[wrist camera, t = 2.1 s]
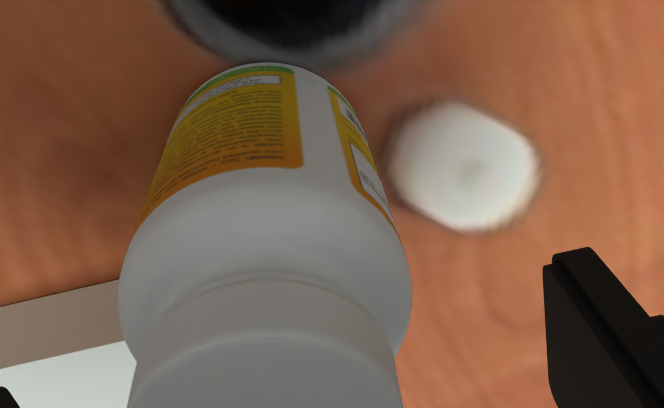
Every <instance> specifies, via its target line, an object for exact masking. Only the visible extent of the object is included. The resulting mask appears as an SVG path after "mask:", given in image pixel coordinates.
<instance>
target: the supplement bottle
mask: <svg viewBox="0 0 664 408" xmlns="http://www.w3.org/2000/svg"><path fill="white" fill-rule="evenodd" d="M411 306H412V285H411V276H410V272H409V268H408V264H407V259H406V255H405V252H404V248H403V245H402V243H401V240H400V237H399V234H398V232H397V229H396V226H395V223H394V220H393V217H392V214H391V211H390V208H389V205H388V202H387V199H386V196H385V193H384V189H383V186H382V184H381V181H380V178H379V175H378V172H377V169H376V167H375V164H374V161H373V158H372V154H371V152H370V149H369V146H368V143H367V140H366V137H365V134H364V131H363V129H362V126H361V124H360V122H359V120H358V118H357V116H356V114H355V112H354V110H353V108H352V107H351V105H350V104H349V102H348V101H347V100H346V99H345V97H344V96H343V95H342V94H341V93H340V92H339V91H338V90H337V89H336V88H335V87H334V86H333V85H331V84H330V83H329V82H327V81H326V80H325V79H323V78H321V77H320V76H318V75H316V74H314V73H312V72H310V71H308V70H306V69H303V68H300V67H296V66H293V65H288V64H282V63H272V62H267V63H252V64H246V65H241V66H237V67H234V68H231V69H228V70H226V71H223V72H221V73H219V74H218V75H216V76H214V77H212V78H211V79H209V80H208V81H206V82H205V83H204V84H203V85H201V86H200V87H199V88H198V89H197V90H196V91H195V92H194V93H193V94H192V95H191V96H190V98H189V99H188V100H187V102H186V103H185V104H184V106H183V107H182V109H181V111H180V113H179V115H178V117H177V118H176V120H175V122H174V124H173V127H172V130H171V132H170V135H169V137H168V140H167V143H166V146H165V149H164V152H163V154H162V157H161V160H160V162H159V165H158V168H157V170H156V173H155V176H154V178H153V181H152V183H151V186H150V188H149V191H148V193H147V197H146V199H145V201H144V204H143V206H142V209H141V212H140V215H139V218H138V221H137V223H136V226H135V229H134V232H133V234H132V237H131V240H130V243H129V246H128V249H127V252H126V255H125V258H124V262H123V266H122V270H121V274H120V278H119V285H118V312H119V319H120V324H121V329H122V333H123V336H124V339H125V342H126V344H127V346H128V348H129V350H130V352H131V354H132V355H133V357H134V359H135V360H136V362H137V364H136V368H135V372H134V376H133V381H132V385H131V390H130V394H129V399H128V403H127V408H403V403H402V398H401V393H400V388H399V383H398V378H397V373H396V367H395V359H394V357H395V356H396V354H397V352H398V350H399V348H400V346H401V344H402V342H403V339H404V337H405V334H406V331H407V328H408V324H409V319H410V313H411Z"/></svg>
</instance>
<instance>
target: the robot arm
mask: <svg viewBox="0 0 664 408" xmlns="http://www.w3.org/2000/svg"><path fill="white" fill-rule="evenodd" d="M543 290H544V307H545V325H546V342H547V359H548V377H549V384H550V389H551V392H552V395H553V398H554V400H555V402H556V404H557V406H558V408H664V316H663V315H657V316H653V317H649V315H648V314H647V313H646V312H645V311H644V309H643V308H642V307H641V306H640V305H639V304H638V302H637V301H636V300H635V299H634V298H633V296H632V295H631V294H630V293H629V292H628V291H627V289H626V288H625V287H624V286H623V285H622V283H621V282H620V281H619V280H618V279H617V278H616V276H615V275H614V274H613V273H612V272H611V270H610V269H609V268H608V267H607V266H606V265H605V263H604V262H603V261H602V260H601V259H600V257H599V256H598V255H597V254H596V253H595V252H594V251H593V250H592V249H591V248H589V247H584V248H580V249H575V250H571V251H566V252H562V253H557V254H555V255H553V258H552V264H549V265H545V266H543ZM0 408H20V406H19V405H18V403H17V402H16V400H15V399H14V398H13V396H12V395H11V393H10V392H9V390H8V389H7V388H5V387H3V386H0Z"/></svg>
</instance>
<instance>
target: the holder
mask: <svg viewBox="0 0 664 408" xmlns="http://www.w3.org/2000/svg"><path fill="white" fill-rule="evenodd" d="M118 285H119V280H114V281H110V282H106V283H101V284H97V285H93V286H88V287H84V288H80V289H75V290H71V291H67V292H62V293H58V294H54V295H50V296H45V297H41V298H37V299H32V300H28V301H24V302H19V303H15V304H11V305H6V306H2V307H0V386H3V387H5V388H7V389H8V390H9V392H10V393H11V395H12V396H13V398H14V399H15V400H16V402H17V403H18V405H19V406H20V408H127V403H128V399H129V394H130V390H131V385H132V381H133V376H134V372H135V368H136V364H137V362H136V360H135V359H134V357H133V355H132V354H131V352H130V350H129V348H128V346H127V344H126V342H125V339H124V336H123V333H122V329H121V324H120V319H119V312H118Z"/></svg>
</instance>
